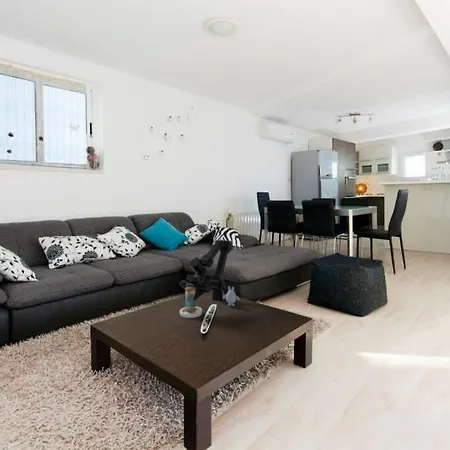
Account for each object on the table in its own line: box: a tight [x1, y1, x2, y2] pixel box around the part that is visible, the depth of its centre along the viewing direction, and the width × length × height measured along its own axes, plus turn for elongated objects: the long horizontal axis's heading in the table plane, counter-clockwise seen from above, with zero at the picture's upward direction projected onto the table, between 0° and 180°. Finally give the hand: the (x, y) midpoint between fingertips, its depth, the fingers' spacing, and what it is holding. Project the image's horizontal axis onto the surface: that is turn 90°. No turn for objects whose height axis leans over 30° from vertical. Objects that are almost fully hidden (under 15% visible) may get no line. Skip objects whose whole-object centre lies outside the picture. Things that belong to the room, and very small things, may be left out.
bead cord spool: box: [184, 287, 197, 312], centre depth 197 cm, size 6×6×13 cm
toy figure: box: [223, 285, 241, 307], centre depth 209 cm, size 11×6×12 cm, turn 72°
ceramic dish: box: [179, 306, 203, 319], centre depth 198 cm, size 12×12×2 cm
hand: (189, 299), depth 195 cm, fingers closed on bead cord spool, 6 cm apart
